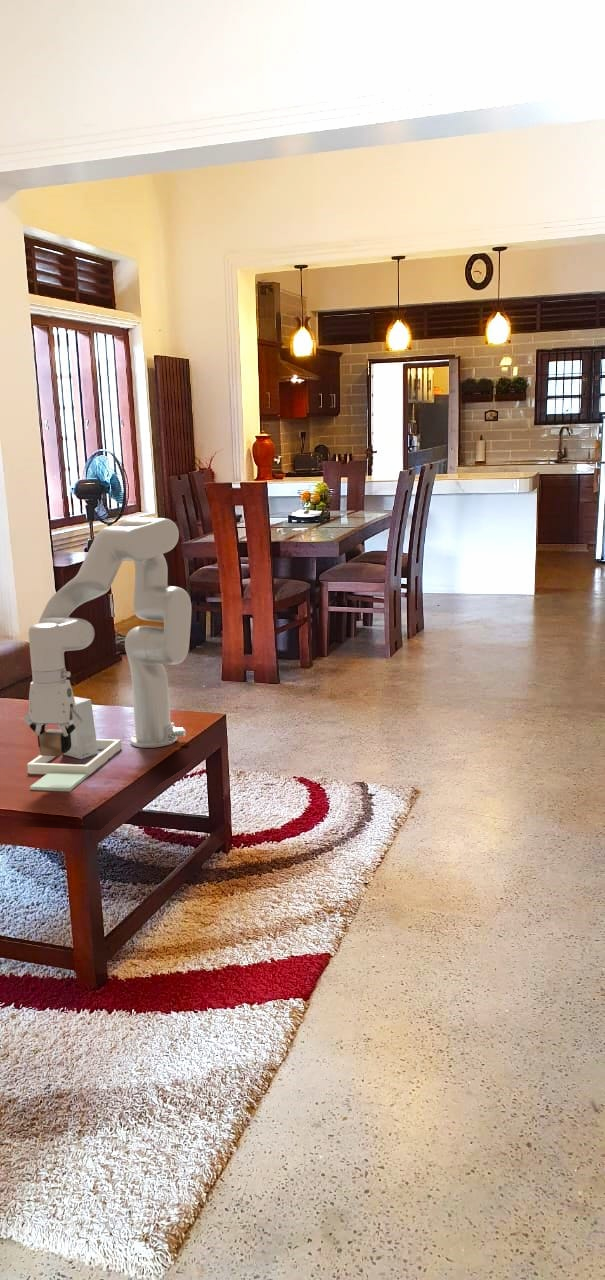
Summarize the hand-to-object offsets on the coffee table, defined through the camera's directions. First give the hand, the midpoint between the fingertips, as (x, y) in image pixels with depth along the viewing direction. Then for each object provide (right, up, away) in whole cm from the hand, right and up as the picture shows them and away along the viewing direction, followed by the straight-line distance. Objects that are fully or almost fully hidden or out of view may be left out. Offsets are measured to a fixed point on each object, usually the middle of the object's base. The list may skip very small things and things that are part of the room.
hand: (55, 749), depth 227 cm
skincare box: (0, -4, +23) cm, 23 cm away
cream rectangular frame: (+1, -5, +18) cm, 19 cm away
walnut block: (0, -1, 0) cm, 1 cm away
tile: (0, -8, +2) cm, 8 cm away
